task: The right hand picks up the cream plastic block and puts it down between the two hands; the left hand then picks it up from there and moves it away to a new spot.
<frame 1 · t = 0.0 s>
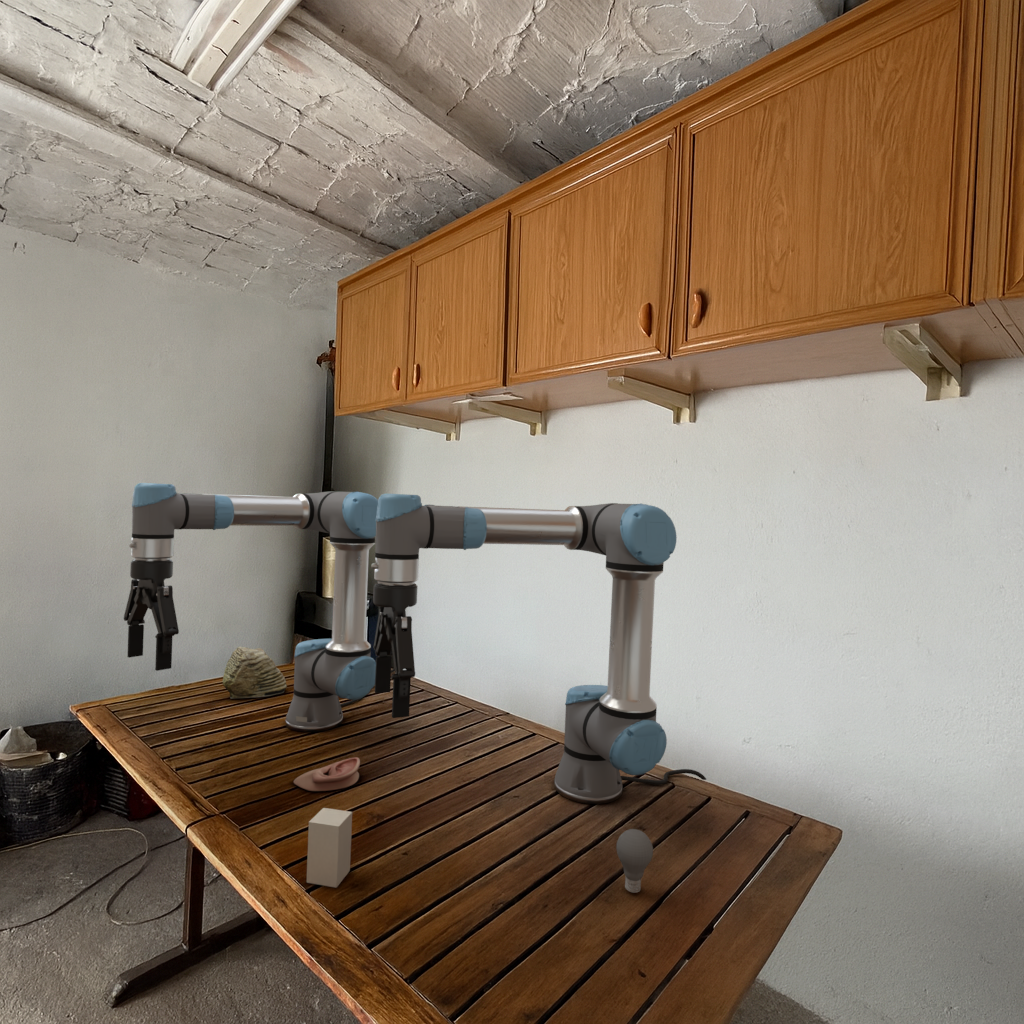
left hand: (148, 662, 129), 28 cm above the table, tool pointing down, fingers open, 13 cm apart
right hand: (390, 703, 110), 28 cm above the table, tool pointing down, fingers open, 13 cm apart
block: (328, 876, 106), on the table
fossil: (254, 694, 198), on the table
light bulb: (632, 891, 106), on the table
anatomical model: (327, 781, 141), on the table
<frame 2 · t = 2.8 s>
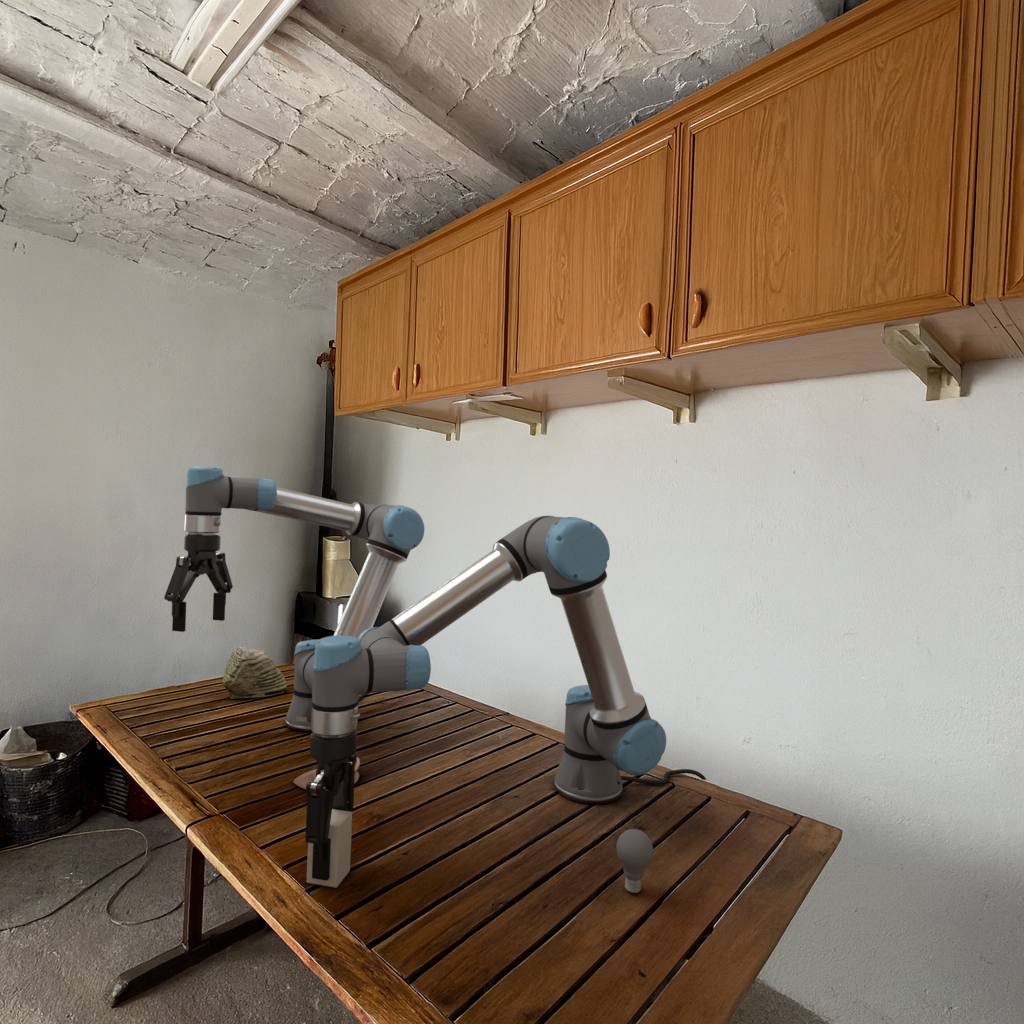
left hand: (199, 625, 146), 32 cm above the table, tool pointing down, fingers open, 13 cm apart
right hand: (328, 867, 106), 1 cm above the table, tool pointing down, fingers closed on block, 5 cm apart
block: (328, 876, 106), on the table, touching right hand
everything else where it was.
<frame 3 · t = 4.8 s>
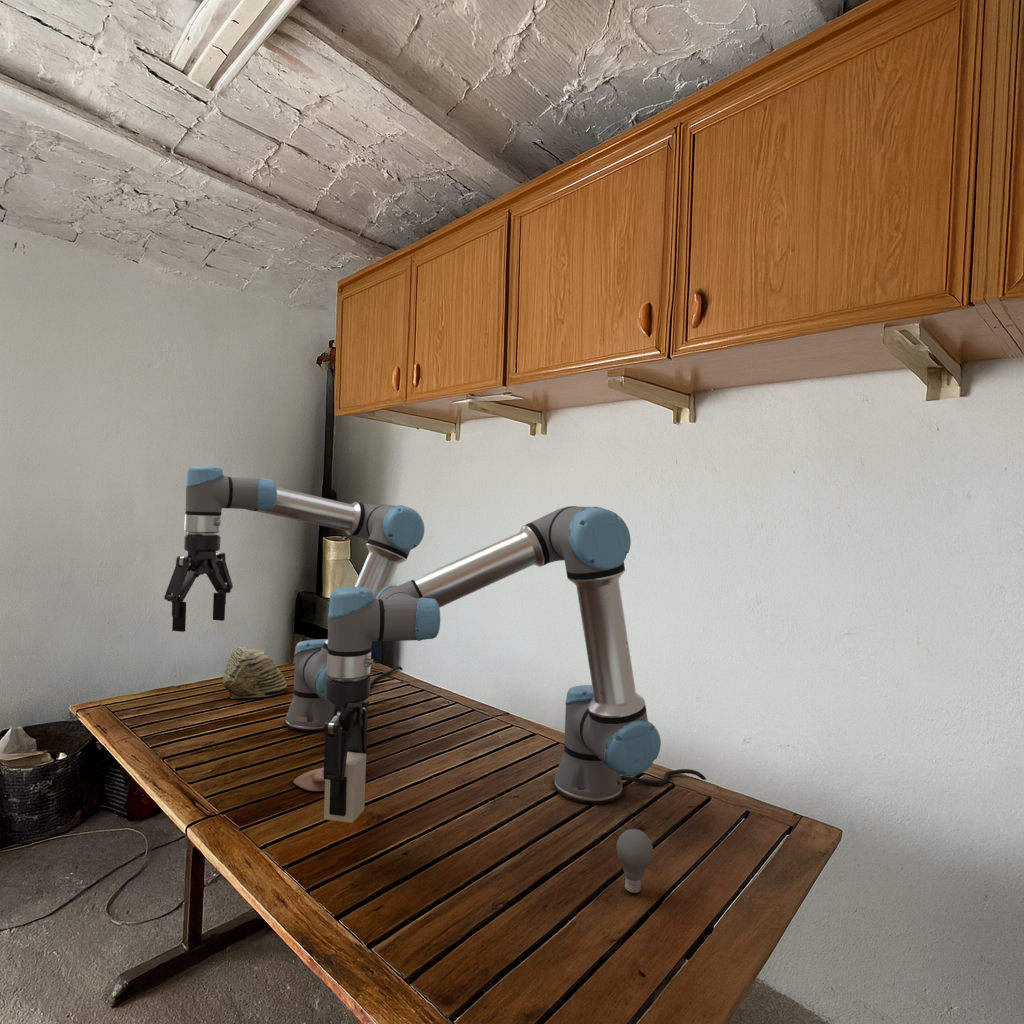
left hand: (199, 625, 146), 32 cm above the table, tool pointing down, fingers open, 13 cm apart
right hand: (344, 806, 112), 9 cm above the table, tool pointing down, fingers closed on block, 5 cm apart
block: (344, 814, 112), point 8 cm above the table, touching right hand
everything else where it was.
when the right hand's fingers open (2 cm above the table, at t = 7.1 s): block stays where it is, on the table.
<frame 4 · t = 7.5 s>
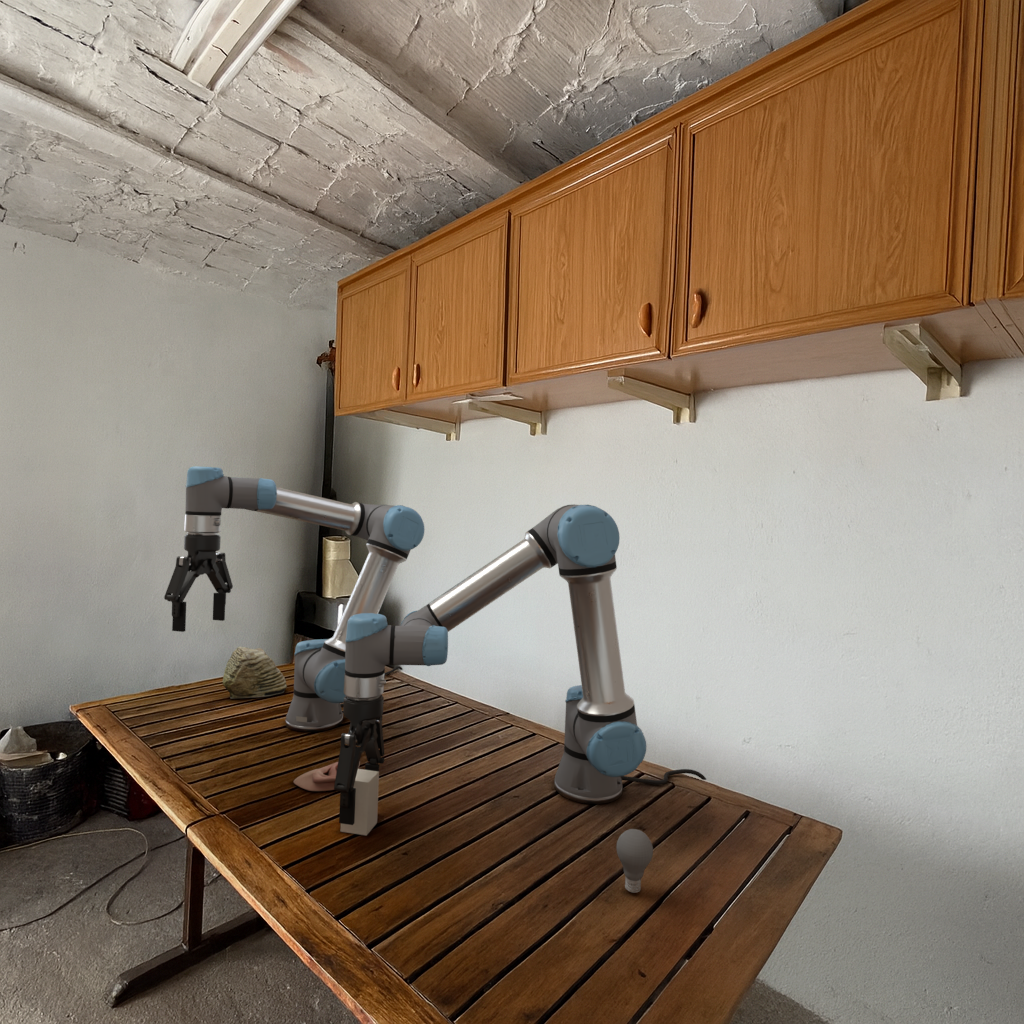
left hand: (199, 625, 146), 32 cm above the table, tool pointing down, fingers open, 13 cm apart
right hand: (359, 809, 122), 3 cm above the table, tool pointing down, fingers open, 10 cm apart
block: (359, 827, 122), on the table
everything else where it was.
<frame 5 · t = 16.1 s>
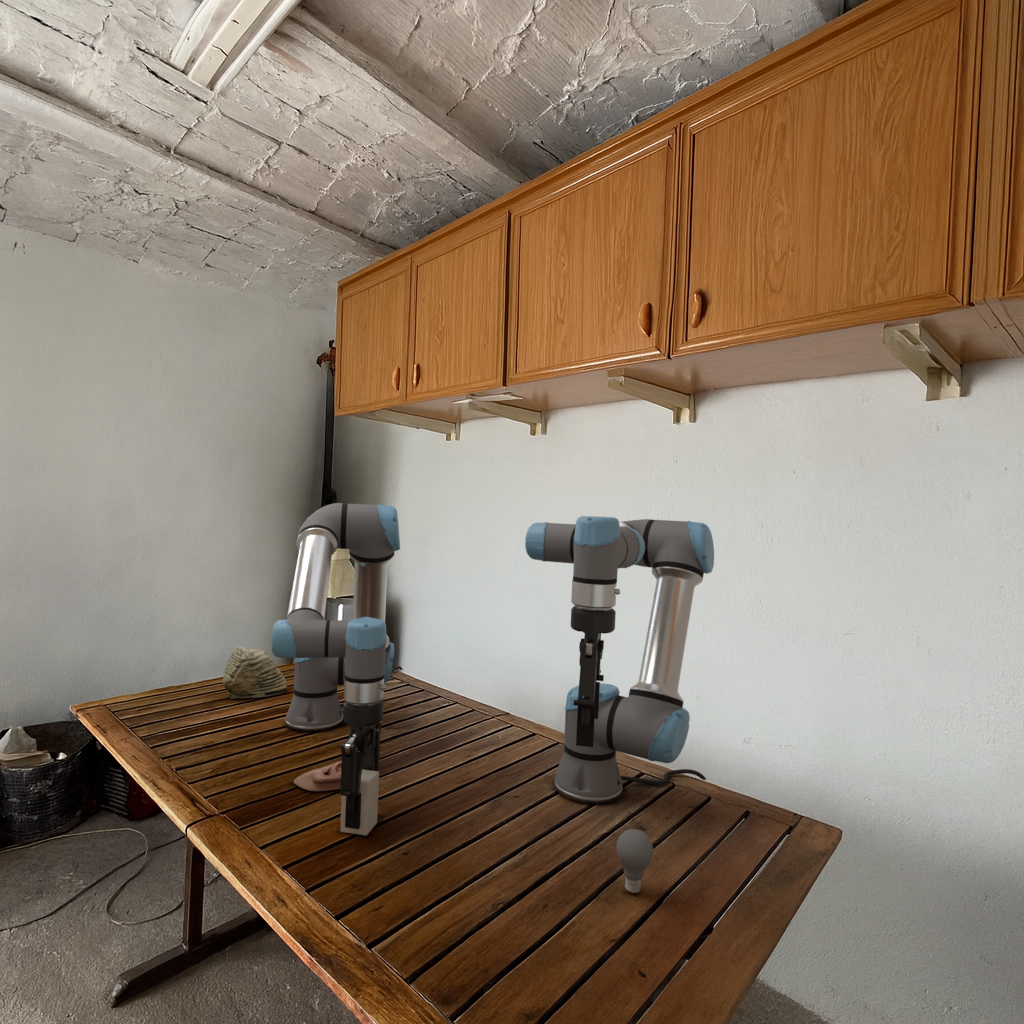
left hand: (359, 819, 122), 1 cm above the table, tool pointing down, fingers closed on block, 5 cm apart
right hand: (587, 731, 108), 26 cm above the table, tool pointing down, fingers open, 13 cm apart
block: (359, 827, 122), on the table, touching left hand
everything else where it was.
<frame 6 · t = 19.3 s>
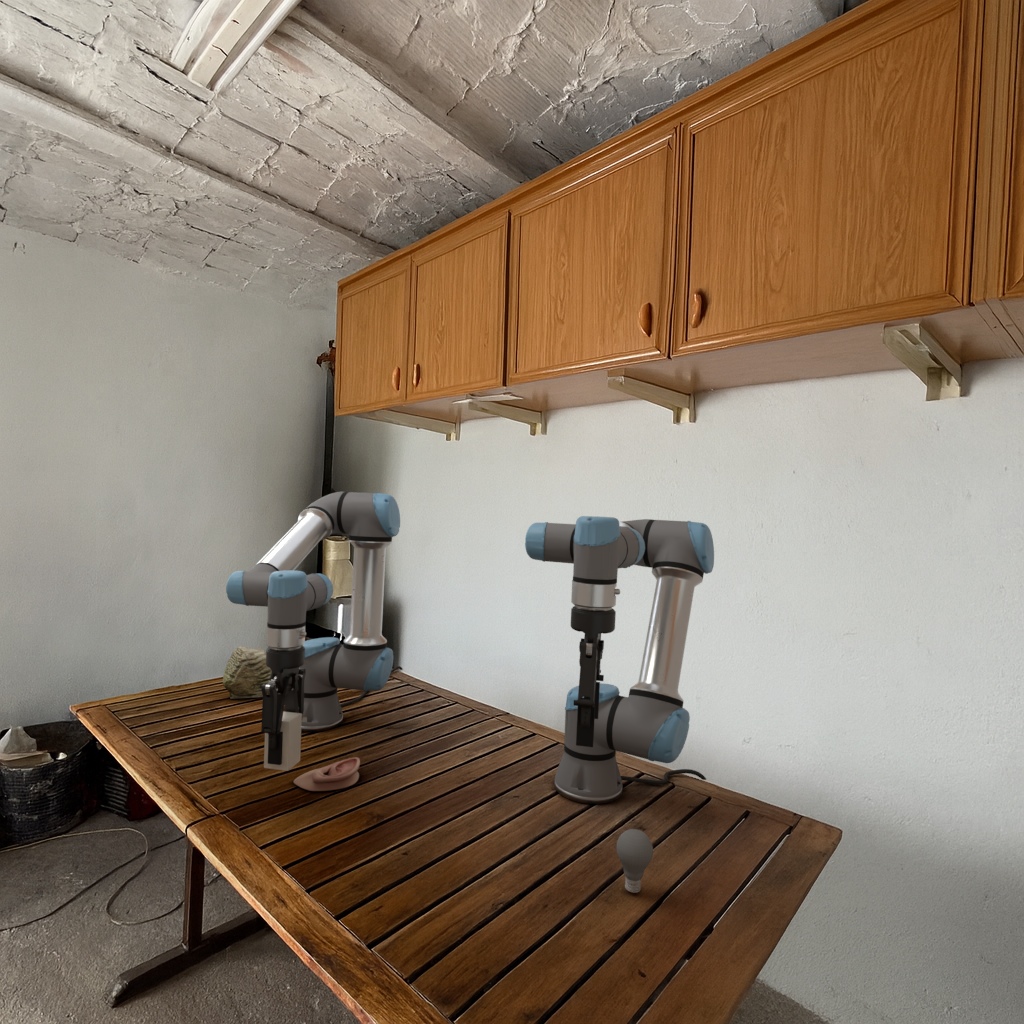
left hand: (282, 757, 131), 9 cm above the table, tool pointing down, fingers closed on block, 5 cm apart
right hand: (587, 731, 108), 26 cm above the table, tool pointing down, fingers open, 13 cm apart
block: (282, 764, 131), point 8 cm above the table, touching left hand
everything else where it was.
when the left hand's fingers open (2 cm above the table, at t = 22.5 s): block stays where it is, on the table.
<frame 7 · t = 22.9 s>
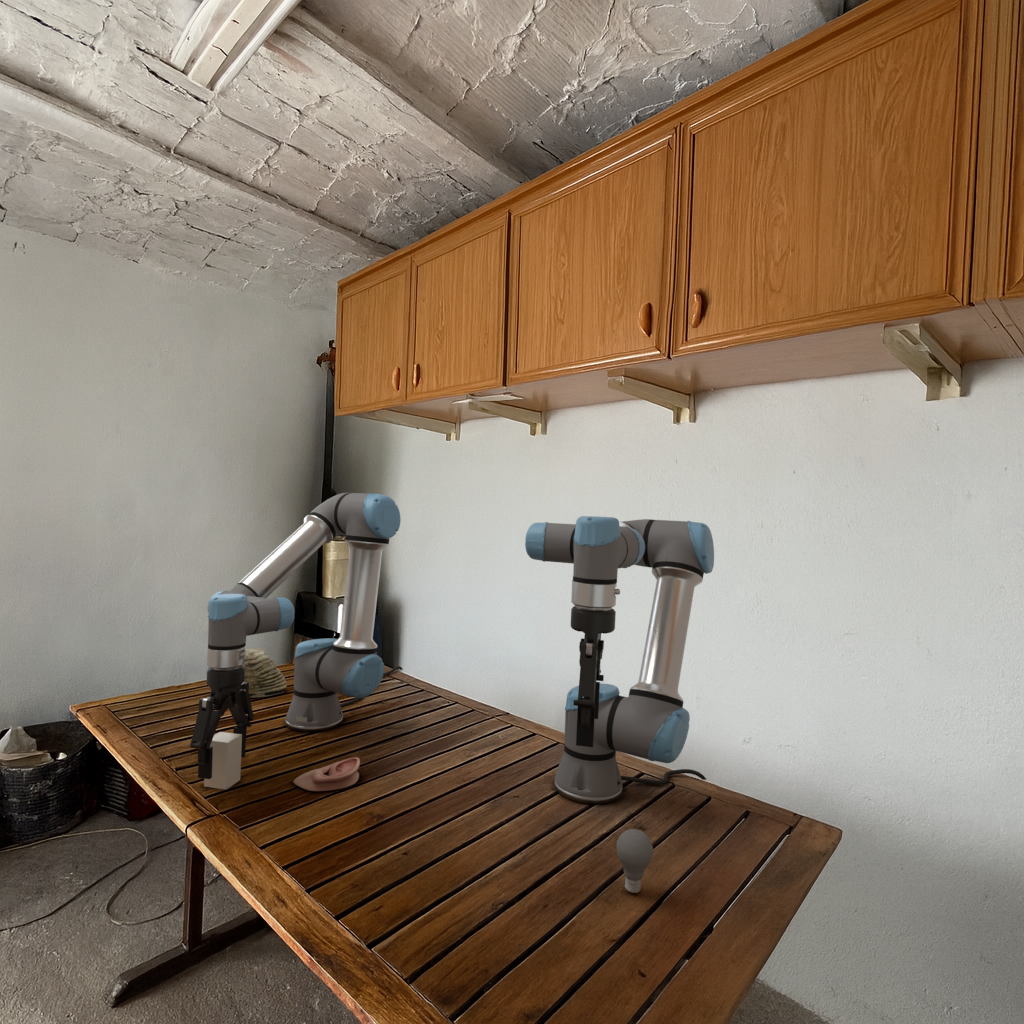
left hand: (222, 766, 138), 4 cm above the table, tool pointing down, fingers open, 11 cm apart
right hand: (587, 731, 108), 26 cm above the table, tool pointing down, fingers open, 13 cm apart
block: (222, 783, 138), on the table
everything else where it was.
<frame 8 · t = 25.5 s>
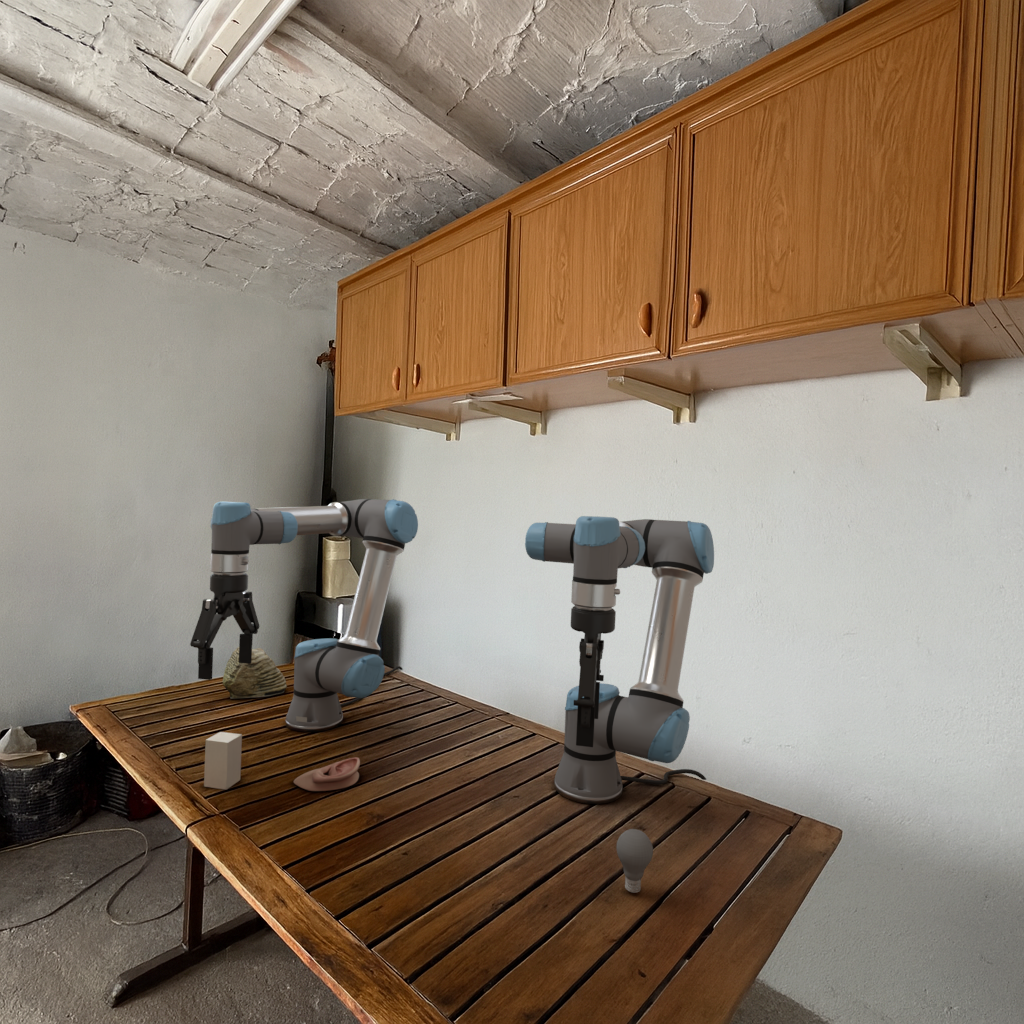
left hand: (226, 670, 137), 25 cm above the table, tool pointing down, fingers open, 13 cm apart
right hand: (587, 731, 108), 26 cm above the table, tool pointing down, fingers open, 13 cm apart
nothing on the table moved.
at the end: block inside the target area (0.1 cm from its centre), on the table; block tilted 0°; the two hands never held the block at the same time; the left hand is holding nothing; the right hand is holding nothing; block at rest at the end (0.0 cm/s) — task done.
